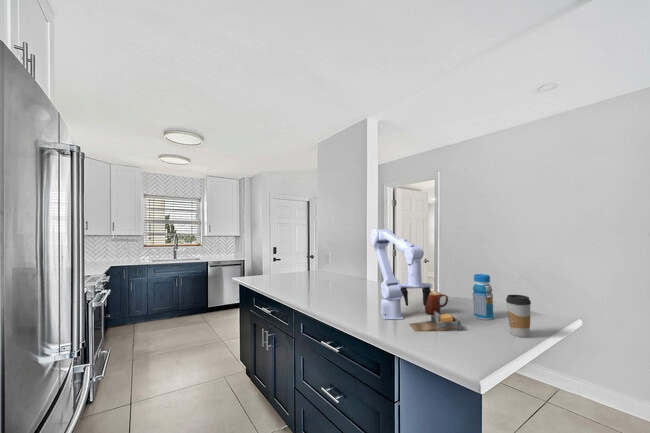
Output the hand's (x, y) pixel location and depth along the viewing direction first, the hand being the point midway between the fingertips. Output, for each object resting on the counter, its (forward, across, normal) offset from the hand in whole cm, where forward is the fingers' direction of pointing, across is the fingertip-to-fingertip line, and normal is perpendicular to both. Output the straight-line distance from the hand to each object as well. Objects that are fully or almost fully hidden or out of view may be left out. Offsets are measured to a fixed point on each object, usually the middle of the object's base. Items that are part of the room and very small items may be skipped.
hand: (415, 305), depth 129 cm
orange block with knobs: (+8, +12, -1) cm, 14 cm away
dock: (+10, +7, -1) cm, 13 cm away
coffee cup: (+10, +38, -10) cm, 40 cm away
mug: (+10, +14, +19) cm, 26 cm away
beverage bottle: (+10, +34, +12) cm, 38 cm away
